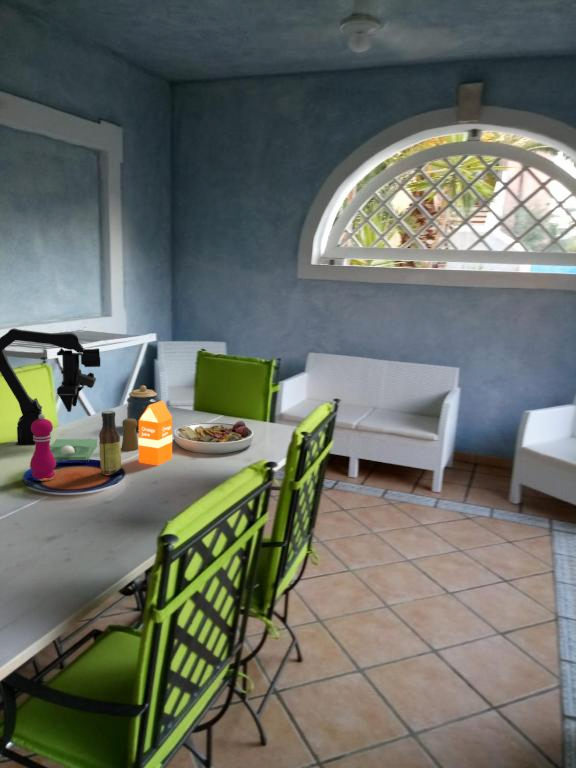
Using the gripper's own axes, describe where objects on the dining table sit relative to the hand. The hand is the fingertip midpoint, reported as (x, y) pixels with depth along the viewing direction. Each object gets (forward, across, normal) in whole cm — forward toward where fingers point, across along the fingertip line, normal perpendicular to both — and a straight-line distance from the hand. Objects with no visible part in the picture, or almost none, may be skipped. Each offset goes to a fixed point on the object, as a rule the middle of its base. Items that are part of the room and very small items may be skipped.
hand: (72, 408), depth 212 cm
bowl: (+13, -5, -52) cm, 54 cm away
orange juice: (+12, -25, -32) cm, 42 cm away
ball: (+10, -22, -3) cm, 25 cm away
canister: (+12, +19, -24) cm, 33 cm away
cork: (+12, -11, -22) cm, 27 cm away
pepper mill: (+12, -42, 0) cm, 44 cm away
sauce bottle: (+12, -38, -19) cm, 44 cm away
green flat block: (+12, -18, -3) cm, 22 cm away
